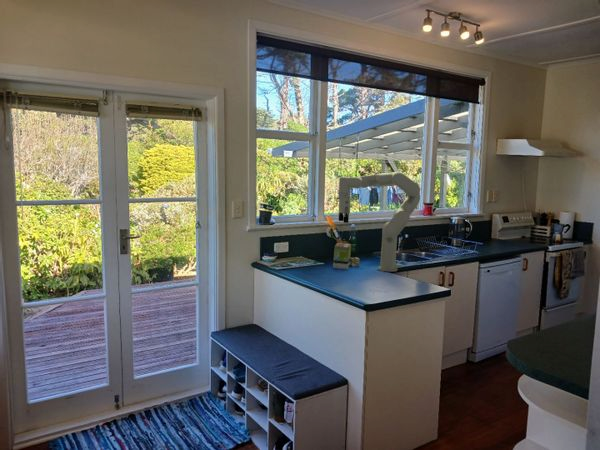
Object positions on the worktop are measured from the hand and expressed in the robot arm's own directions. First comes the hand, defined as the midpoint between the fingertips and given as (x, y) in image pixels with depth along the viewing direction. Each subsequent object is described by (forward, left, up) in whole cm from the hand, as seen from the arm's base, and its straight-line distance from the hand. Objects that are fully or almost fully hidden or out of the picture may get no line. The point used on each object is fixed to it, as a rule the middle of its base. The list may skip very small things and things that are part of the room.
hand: (343, 221), depth 296 cm
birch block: (-11, -4, -30) cm, 32 cm away
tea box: (-1, -1, -30) cm, 30 cm away
